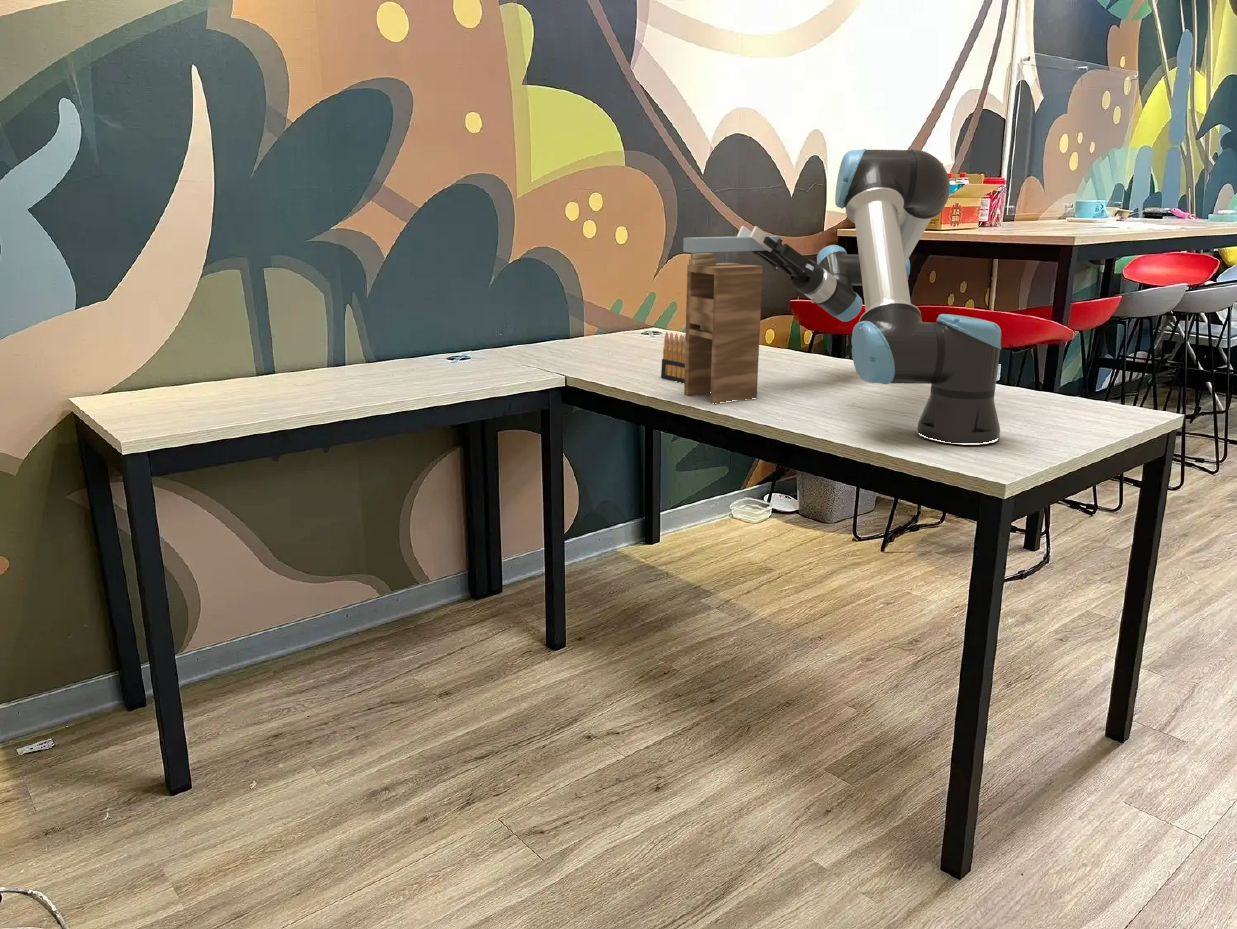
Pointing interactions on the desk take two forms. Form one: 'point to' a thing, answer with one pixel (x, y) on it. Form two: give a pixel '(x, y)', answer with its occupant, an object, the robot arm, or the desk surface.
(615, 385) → the desk surface
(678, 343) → the ammunition clip
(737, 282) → the rack
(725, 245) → the batten
